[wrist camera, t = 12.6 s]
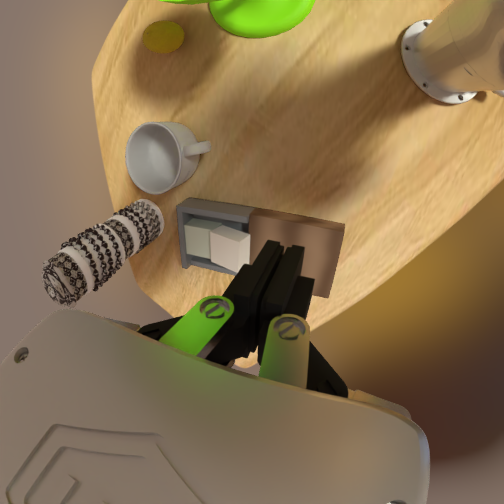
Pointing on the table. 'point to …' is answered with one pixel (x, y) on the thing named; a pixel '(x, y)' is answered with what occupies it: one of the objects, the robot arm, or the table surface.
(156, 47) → the lemon
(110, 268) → the decorative candle
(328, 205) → the table surface
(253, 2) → the wineglass
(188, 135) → the teacup
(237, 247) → the white tile
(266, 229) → the walnut wavy ramp
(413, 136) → the table surface
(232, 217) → the box
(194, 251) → the sage tile
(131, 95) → the table surface
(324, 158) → the table surface
